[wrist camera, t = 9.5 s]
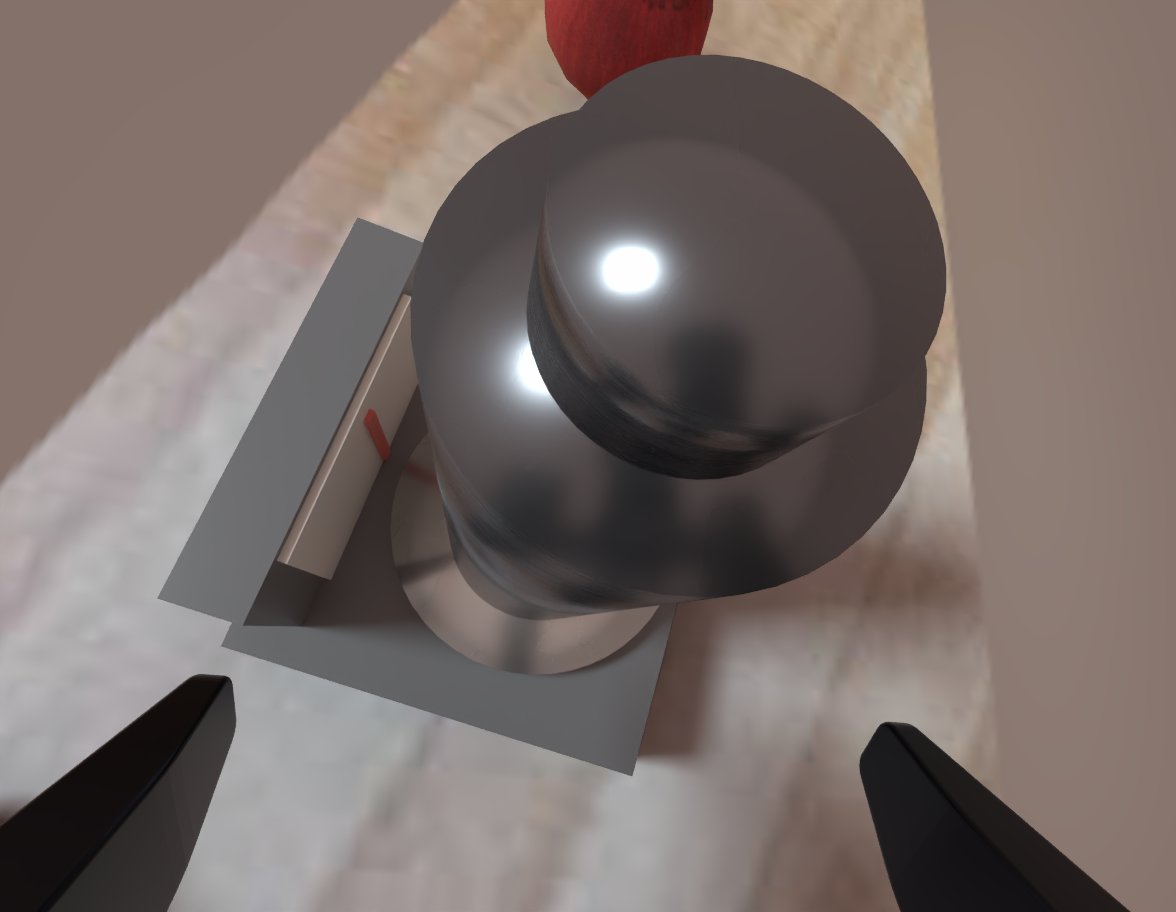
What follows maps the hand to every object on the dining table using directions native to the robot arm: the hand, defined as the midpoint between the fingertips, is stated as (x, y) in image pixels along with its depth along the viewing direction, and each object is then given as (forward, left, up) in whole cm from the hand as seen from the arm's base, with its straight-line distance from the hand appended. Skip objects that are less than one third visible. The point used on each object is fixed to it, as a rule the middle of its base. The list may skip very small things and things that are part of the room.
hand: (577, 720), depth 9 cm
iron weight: (+4, +1, -8) cm, 9 cm away
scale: (+4, +2, -11) cm, 12 cm away
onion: (+22, +4, -11) cm, 25 cm away
